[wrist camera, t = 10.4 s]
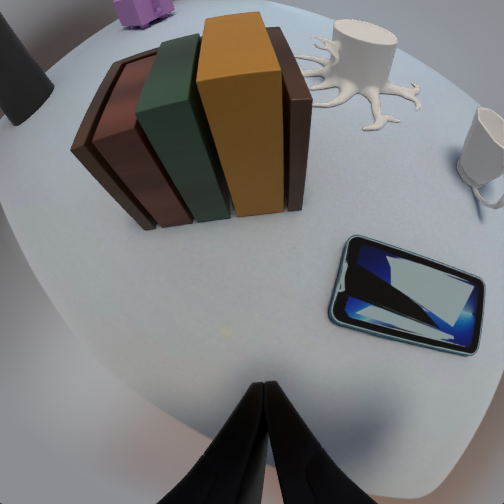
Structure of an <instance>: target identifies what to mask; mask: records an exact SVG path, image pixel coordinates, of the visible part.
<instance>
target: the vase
mask: <svg viewBox="0 0 504 504" xmlns="http://www.w3.org/2000/svg"><path fill="white" fill-rule="evenodd" d="M53 89H54V85H53V83H52V82H51V81H50V80H49V78H48V77H47V76H46V74H45V73H44V72H43V71H42V69H41V68H40V66H39V65H38V64H37V63H36V61H35V60H34V59H33V57H32V56H31V55H30V53H29V52H28V51H27V49H26V48H25V47H24V45H23V44H22V43H21V41H20V40H19V38H18V37H17V35H16V34H15V33H14V31H13V30H12V28H11V27H10V26H9V24H8V23H7V21H6V20H5V18H4V17H3V15H2V14H1V12H0V108H1V109H2V110H3V112H4V113H5V115H6V116H7V117H8V119H9V120H10V121H11V123H12V124H13V125H14V126H17V125H19V124H21V123H22V122H24V121H25V120H26V119H28V118H29V117H30V116H31V115H32V114H33V113H34V112H35V111H36V110H37V109H38V108H39V107H40V106H41V105H42V104H43V103H44V102H45V101H46V100H47V98H48V97H49V96H50V94H51V93H52V91H53Z"/></svg>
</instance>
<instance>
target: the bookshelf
mask: <svg viewBox="0 0 504 504" xmlns="http://www.w3.org/2000/svg"><path fill="white" fill-rule="evenodd" d="M266 30H267V33H268V35H269V38H270V40H271V43H272V46H273V48H274V51H275V54H276V57H277V59H278V62H279V65H280V68H281V75H282V104H283V154H284V189H285V195H286V200H287V206H288V211H295V210H302V204H303V195H304V187H305V178H306V169H307V159H308V149H309V138H310V127H311V115H312V102H313V99H312V96H311V94H310V91H309V89H308V87H307V84H306V82H305V80H304V77H303V75H302V73H301V70H300V68H299V66H298V64H297V62H296V59H295V57H294V55H293V53H292V51H291V49H290V47H289V45H288V43H287V41H286V39H285V37H284V35H283V33H282V31H281V29H280V27H268V28H266ZM202 37H203V36H202ZM202 37H200V34H193V35H189V36H185V37H181V38H177V39H173V40H169V41H165V42H162V43H161V45H160V47H158V48H155V49H151V50H148V51H145V52H142V53H139V54H136V55H133V56H130V57H128V58H125V59H122V60H120V61H117V62H114V63H113V64H112V66H111V67H110V69H109V71H108V73H107V74H106V76H105V78H104V79H103V81H102V83H101V85H100V87H99V89H98V90H97V92H96V94H95V96H94V98H93V100H92V102H91V104H90V106H89V108H88V110H87V112H86V114H85V116H84V119H83V121H82V123H81V125H80V127H79V130H78V132H77V134H76V137H75V139H74V142H73V144H72V147H71V149H70V151H71V152H72V153H73V154H74V155H75V157H76V158H77V159H78V160H79V161H80V162H81V163H82V164H83V166H84V167H85V168H86V169H87V170H88V171H89V172H90V173H91V174H92V176H93V177H94V178H95V179H96V180H97V181H98V182H99V183H100V184H101V185H102V186H103V188H104V189H105V190H106V191H107V192H108V193H109V194H110V195H111V196H112V197H113V198H114V199H115V200H116V201H117V202H118V203H119V204H120V206H121V207H122V208H123V209H124V210H125V211H126V212H127V213H128V214H129V215H130V216H131V217H132V218H133V219H134V220H135V221H136V222H137V223H138V224H139V225H140V226H141V227H142V228H143V229H144V230H150V229H155V228H156V221H157V222H158V224H159V225H160V226H161V227H162V228H163V227H170V226H176V225H183V224H190V223H193V216H194V218H195V219H196V221H197V222H204V221H211V220H219V219H226V218H230V201H229V187H228V184H227V181H226V178H225V175H224V171H223V168H222V165H221V162H220V158H219V155H218V152H217V149H216V145H215V142H214V139H213V136H212V132H211V129H210V126H209V123H208V119H207V116H206V113H205V110H204V106H203V103H202V100H201V97H200V93H199V90H198V87H197V83H196V78H197V71H198V63H199V56H200V49H201V43H202Z"/></svg>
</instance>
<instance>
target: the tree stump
mask: <svg viewBox="0 0 504 504" xmlns="http://www.w3.org/2000/svg"><path fill="white" fill-rule="evenodd" d="M310 37H315V38H317V39H319V40H321V41H322V42H323V43H324V44H325V47H319V46H317V45H315V44H314V45H315V46H316V47H317V48H319V49H322V50H326V51H328V52H329V53H330V54H331V59H325V58H320V57H313V56H302V55H296V56H294V57H296V58H302V59H307V60H313V61H316V62H319V63H320V64H322V65H324V66H325V67H322V68H318V69H314V70H303V69H300V70H301V73H302V75H303V77H306V76H308V77H311V76H322V77H324V78H325V80H324V82H323V83H321V84H318V85H316V86H312V87H310V88H309V90H318V89H325V88H331V87H334V86H336V87H339V89H340V94H339V96H338V97H337V98H335V99H334V100H333V101H331V102H327V103H312V106H316V107H332V106H336V105H339V104H342V103H344V102H345V101H347V100H348V99H350V98H351V97H352V96H353V95H354V94H356V93H360V94H363V95H364V96H366V97H367V99H368V100H369V101H370V102H371V104H372V112H373V115H374V117H375V120H376V121H375V123H374V124H371V125H368V126H365V127H363V128H362V129H363V130H367V131H369V130H378V129H381V128H383V127H384V125H385V124H386V122H387V121H393V122H400V121H399V120H398V119H395V118H393V117H391V116H389V115H382V114H381V112H380V98H379V94H380V93H385V94H395V95H400V96H403V97H404V98H406V99H409V100H411V101H414V102H415V104H416V108H415V109H416V110H417V111H418V110H419V109H420V108H421V105H420V102H419V100H417V99H416V98H415V97H414V96H415V95H417V94H418V93H419V92H420V88H419V86H418V85H416V84H415V83H411V84H412V85H414V86H415V88H403V87H398V86H395V85H392V84H390V83H389V82H388V77H389V73H390V70H391V66H392V62H393V58H394V54H395V50H396V45H397V38H396V37H395V36H394V35H393V34H392V33H390V32H389V31H387V30H385V29H383V28H381V27H380V26H377V25H374V24H371V23H367V22H363V21H359V20H352V19H346V20H338V21H336V22H335V23H334V26H333V39H332V41H331V40H329V39H326V38H323V37H320V36H310Z"/></svg>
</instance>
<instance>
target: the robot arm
mask: <svg viewBox="0 0 504 504" xmlns="http://www.w3.org/2000/svg"><path fill="white" fill-rule="evenodd" d="M268 437H269V438H270V443H271V448H272V452H273V457H274V462H275V466H276V471H277V475H278V480H279V483H280V489H281V493H282V497H283V502H284V504H377V503H376V502H375V501H374V500H373V499H372V498H371V497H369V496H368V495H367V494H366V493H365V492H364V491H363V490H362V489H360V488H359V487H358V486H357V485H356V484H355V483H354V482H353V481H352V480H351V479H349V478H348V477H347V476H346V475H345V474H344V472H343V471H342V470H341V469H340V468H339V467H338V466H337V465H336V464H335V463H334V461H333V460H332V459H331V458H330V456H329V455H328V454H327V452H326V451H325V450H324V448H322V446H321V445H320V443H319V442H318V441H317V439H316V438H315V436H314V435H313V434H312V432H311V431H310V429H309V428H308V427H307V425H306V424H305V422H304V421H303V419H302V418H301V417H300V415H299V414H298V412H297V411H296V409H295V408H294V406H293V405H292V403H291V402H290V400H289V399H288V398H287V396H286V395H285V393H284V392H283V390H282V389H281V387H280V386H279V384H278V383H277V381H267V382H265V383H263V382H256V383H252V384H251V385H250V386H249V388H248V390H247V391H246V393H245V394H244V396H243V397H242V399H241V400H240V402H239V403H238V405H237V406H236V408H235V409H234V411H233V412H232V414H231V415H230V417H229V418H228V420H227V421H226V423H225V424H224V426H223V427H222V428H221V430H220V431H219V433H218V434H217V436H216V437H215V438H214V440H213V441H212V443H211V444H210V445H209V447H208V448H207V449H206V451H205V452H204V455H202V456H201V457H200V458H199V460H198V461H197V463H196V464H195V465H194V466H193V468H192V469H191V470H190V471H189V472H188V474H187V475H186V476H185V477H184V478H183V479H182V480H181V481H180V482H179V483H178V484H177V485H176V486H175V487H174V488H173V489H172V490H171V491H170V492H169V493H168V494H166V495H165V496H164V497H163V498H162V499H161V500H160V501H159V502H158V503H156V504H261V499H262V490H263V482H264V474H265V466H266V457H267V448H268ZM0 504H1V503H0ZM503 504H504V503H503Z"/></svg>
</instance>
